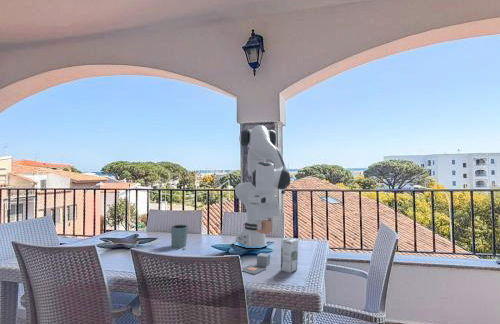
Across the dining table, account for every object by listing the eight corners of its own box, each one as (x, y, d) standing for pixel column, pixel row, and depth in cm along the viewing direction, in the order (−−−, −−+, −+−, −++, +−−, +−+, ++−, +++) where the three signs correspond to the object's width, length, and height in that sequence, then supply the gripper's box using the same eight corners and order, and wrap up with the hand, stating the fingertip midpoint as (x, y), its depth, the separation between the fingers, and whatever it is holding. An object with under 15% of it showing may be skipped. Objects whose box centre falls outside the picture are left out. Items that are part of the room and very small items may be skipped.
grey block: (256, 265, 146) (256, 255, 146) (260, 262, 151) (260, 252, 151) (266, 267, 144) (266, 256, 144) (269, 264, 149) (269, 254, 149)
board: (239, 270, 139) (239, 269, 139) (250, 265, 146) (250, 264, 146) (254, 274, 133) (254, 273, 133) (266, 269, 140) (266, 268, 140)
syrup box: (287, 267, 144) (287, 237, 144) (297, 270, 140) (298, 239, 140) (280, 270, 139) (280, 239, 140) (291, 273, 136) (291, 241, 136)
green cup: (175, 243, 186) (175, 224, 186) (190, 244, 184) (190, 225, 184) (167, 247, 176) (167, 227, 176) (183, 249, 174) (183, 228, 174)
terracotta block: (256, 232, 134) (256, 220, 134) (263, 230, 138) (263, 219, 138) (265, 233, 131) (266, 222, 131) (272, 231, 135) (272, 220, 135)
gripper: (271, 195, 145) (271, 223, 145) (245, 198, 128) (245, 231, 128) (283, 196, 141) (282, 225, 141) (257, 200, 125) (256, 233, 125)
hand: (264, 228), depth 135 cm, fingers closed on terracotta block, 5 cm apart
